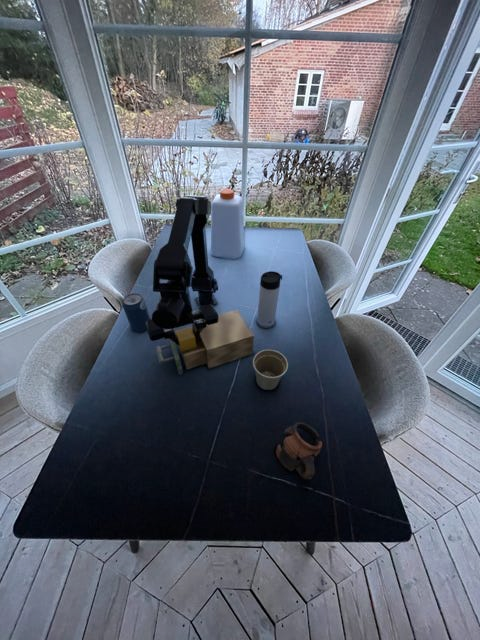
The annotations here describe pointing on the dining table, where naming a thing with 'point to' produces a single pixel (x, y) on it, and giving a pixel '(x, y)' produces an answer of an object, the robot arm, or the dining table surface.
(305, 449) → the pottery mug
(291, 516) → the dining table surface
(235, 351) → the cabinet
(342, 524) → the dining table surface
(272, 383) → the flower pot
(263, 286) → the travel mug
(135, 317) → the soda can
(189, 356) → the drawer
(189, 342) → the block
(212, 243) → the plastic bottle
